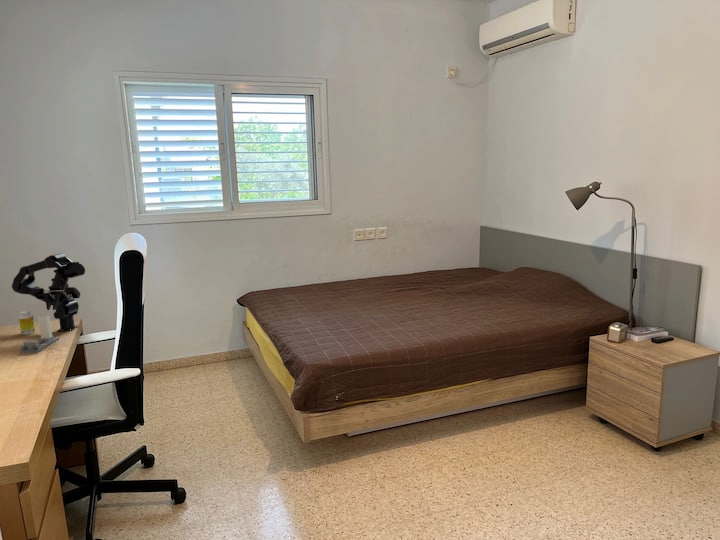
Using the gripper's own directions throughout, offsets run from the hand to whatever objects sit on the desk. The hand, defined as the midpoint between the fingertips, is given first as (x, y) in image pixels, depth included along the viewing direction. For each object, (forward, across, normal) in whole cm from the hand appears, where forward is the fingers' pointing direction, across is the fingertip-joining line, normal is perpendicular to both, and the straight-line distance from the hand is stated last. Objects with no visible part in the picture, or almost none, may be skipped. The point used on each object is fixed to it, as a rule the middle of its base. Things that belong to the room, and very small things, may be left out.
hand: (50, 309), depth 221 cm
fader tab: (+12, 0, -4) cm, 13 cm away
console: (+17, 0, -2) cm, 17 cm away
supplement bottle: (+3, +17, -16) cm, 24 cm away
